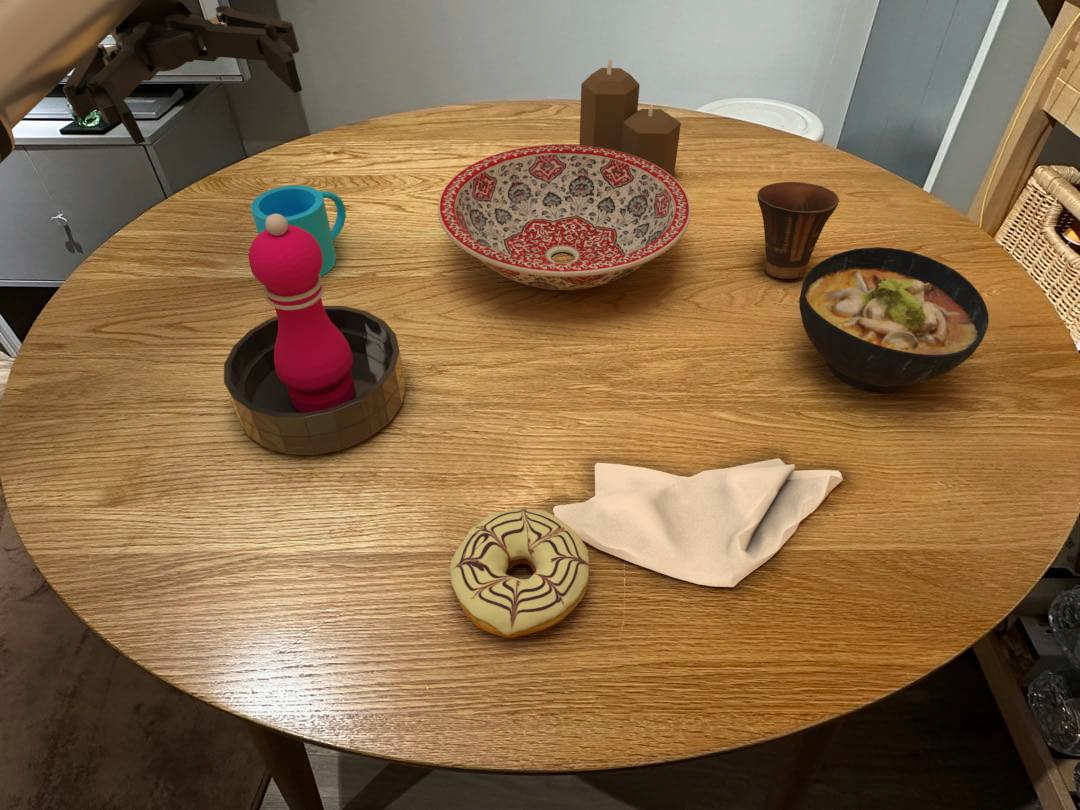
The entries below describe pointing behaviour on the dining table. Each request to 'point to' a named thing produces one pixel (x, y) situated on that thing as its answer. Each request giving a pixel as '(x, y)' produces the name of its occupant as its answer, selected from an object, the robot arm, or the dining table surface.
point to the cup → (793, 224)
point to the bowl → (890, 317)
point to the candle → (626, 120)
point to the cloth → (698, 516)
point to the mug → (303, 215)
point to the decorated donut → (509, 599)
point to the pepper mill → (301, 317)
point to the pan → (325, 430)
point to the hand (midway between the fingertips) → (217, 101)
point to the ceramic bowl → (564, 214)
